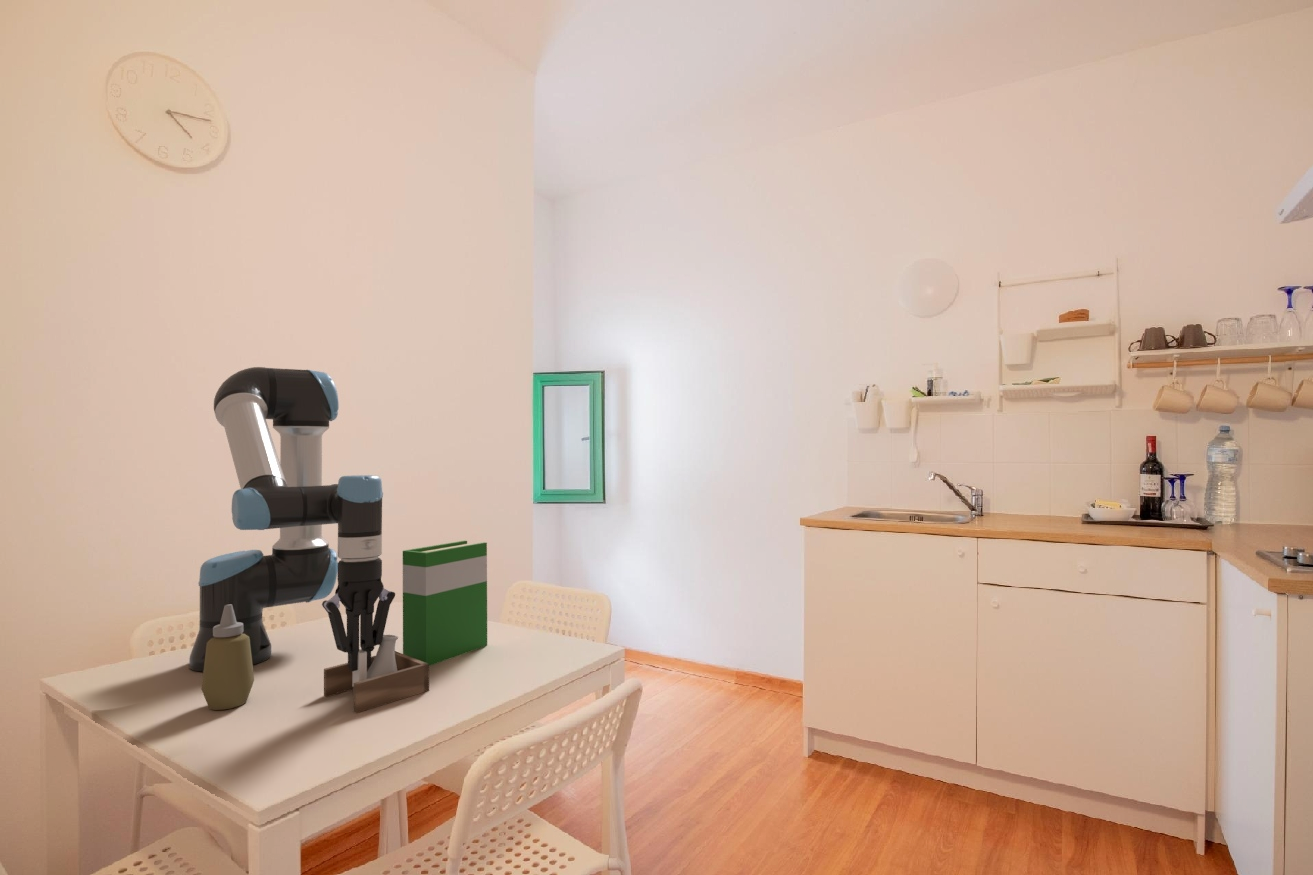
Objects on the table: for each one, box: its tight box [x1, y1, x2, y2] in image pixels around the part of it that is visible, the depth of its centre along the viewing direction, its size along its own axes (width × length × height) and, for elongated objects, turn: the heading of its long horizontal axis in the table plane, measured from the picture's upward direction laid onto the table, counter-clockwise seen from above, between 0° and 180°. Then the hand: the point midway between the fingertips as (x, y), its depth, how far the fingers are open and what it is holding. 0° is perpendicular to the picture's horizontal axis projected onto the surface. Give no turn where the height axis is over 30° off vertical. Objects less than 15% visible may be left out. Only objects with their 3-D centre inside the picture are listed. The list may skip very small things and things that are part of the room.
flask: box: [367, 634, 399, 679], centre depth 126 cm, size 7×7×10 cm
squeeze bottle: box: [200, 604, 255, 711], centre depth 120 cm, size 8×8×18 cm
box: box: [323, 650, 430, 714], centre depth 125 cm, size 13×14×5 cm
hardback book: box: [402, 540, 488, 667], centre depth 150 cm, size 18×7×24 cm, turn 149°
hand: (359, 686), depth 122 cm, fingers closed
